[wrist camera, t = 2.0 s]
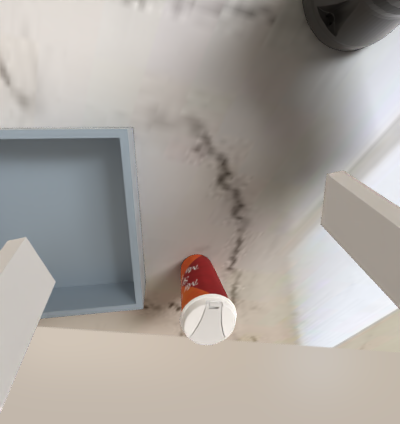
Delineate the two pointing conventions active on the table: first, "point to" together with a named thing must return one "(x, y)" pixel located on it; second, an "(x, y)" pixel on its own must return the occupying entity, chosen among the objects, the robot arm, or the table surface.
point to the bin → (76, 213)
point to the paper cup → (204, 303)
